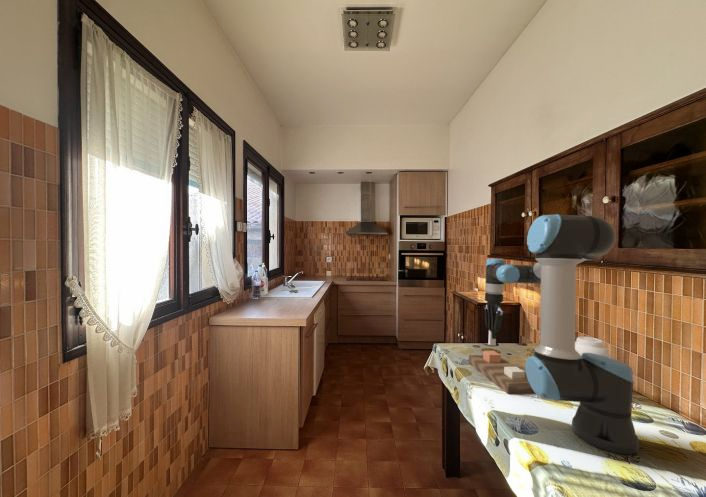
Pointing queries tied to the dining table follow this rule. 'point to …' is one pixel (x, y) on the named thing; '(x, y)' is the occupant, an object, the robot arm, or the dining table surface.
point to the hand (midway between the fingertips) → (492, 344)
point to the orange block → (491, 356)
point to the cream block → (514, 372)
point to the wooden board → (501, 375)
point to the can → (591, 346)
